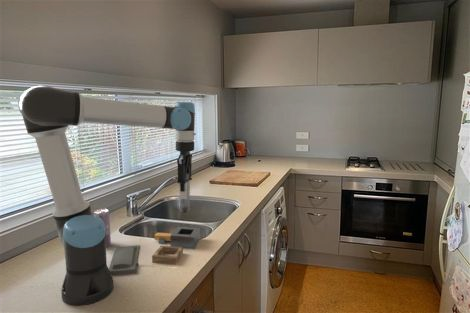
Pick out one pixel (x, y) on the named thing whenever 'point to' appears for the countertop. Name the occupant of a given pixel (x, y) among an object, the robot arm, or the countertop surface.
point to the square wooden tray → (161, 258)
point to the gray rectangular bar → (186, 202)
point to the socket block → (184, 237)
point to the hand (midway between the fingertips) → (184, 197)
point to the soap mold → (124, 260)
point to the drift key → (163, 236)
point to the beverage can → (105, 222)
